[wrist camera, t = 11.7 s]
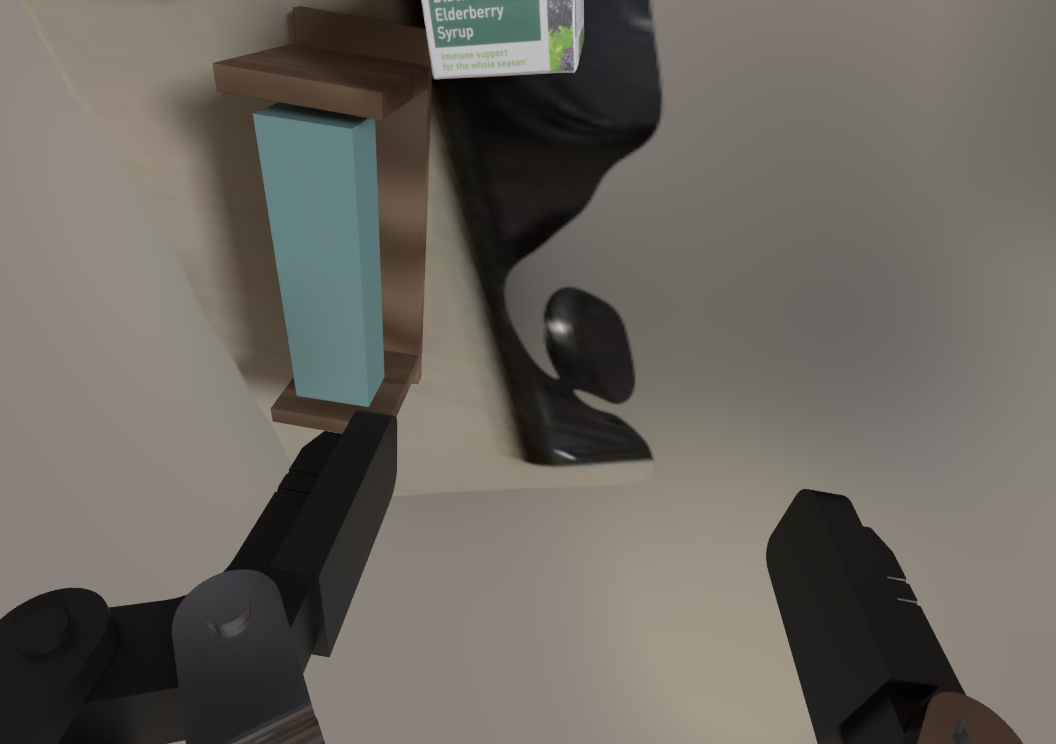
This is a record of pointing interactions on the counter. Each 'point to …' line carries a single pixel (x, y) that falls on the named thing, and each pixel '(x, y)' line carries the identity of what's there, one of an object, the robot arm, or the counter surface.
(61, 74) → the counter surface
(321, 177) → the teal rectangular block
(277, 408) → the rack
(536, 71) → the syrup box
